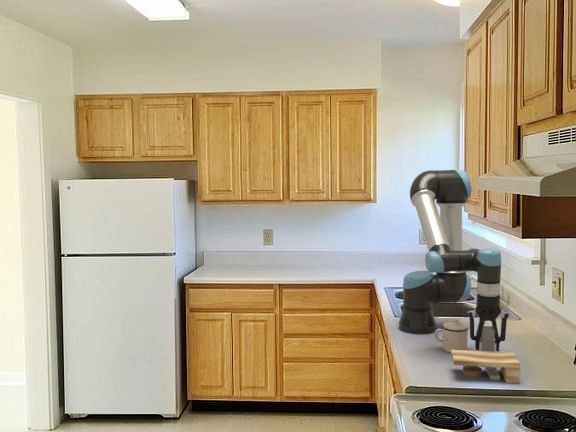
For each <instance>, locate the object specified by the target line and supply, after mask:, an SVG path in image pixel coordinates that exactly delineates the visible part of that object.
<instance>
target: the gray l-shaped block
mask: <svg viewBox="0 0 576 432" xmlns="http://www.w3.org/2000/svg"><path fill="white" fill-rule="evenodd" d="M480 340H481V342H482V351H494V341H495V329H493V327H492V325H484V326H483V329H482V334H481V338H480ZM484 368H485V371H486V373H487V376H488V377H489V380H492V381H493V380H495V381H501V375H500V373H499V371H498V369H497V367H485V366H484Z"/></svg>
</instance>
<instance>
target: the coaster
mask: <svg viewBox="0 0 576 432" xmlns="http://www.w3.org/2000/svg"><path fill="white" fill-rule="evenodd" d="M462 374H463V375H464V376H465V375H466V376H465V377H469V378H473V379H474V378H476V379H477V378H481V376H482V375H483V369H482V367H481V366H463V367H462Z"/></svg>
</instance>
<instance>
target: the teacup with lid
mask: <svg viewBox="0 0 576 432" xmlns="http://www.w3.org/2000/svg"><path fill="white" fill-rule="evenodd" d="M468 330H469V327H468V325H467V324H466V323H464V322H461V321H460V320H459V319H458V318H455V317H454V318H453V319H452V320H450V321H448V322H444V323H443V324H442V328H436V331H435V332H433V333H434V334H433V335H434V338H435V340H436V341H437V342H439V343H442V350H443V351H445V352H448V353H451V350H468V336H469V335H468V332H469V331H468ZM438 332H442V339H440V338H439V337H438V335H437V333H438Z"/></svg>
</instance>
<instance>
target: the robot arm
mask: <svg viewBox="0 0 576 432" xmlns="http://www.w3.org/2000/svg"><path fill="white" fill-rule="evenodd" d="M472 189H473V188H472V181H471V179H470V176H469V174H468V173H467V171H465V170H462V169H443V170H441V169H440V170H437V169H436V170H433V169H432V170H426V171H425V170H424V171H423V172H421V173H419V174H418V175H417V176H416V177H415V178H414V179H413V181H412V183H411V185H410V188H409V199H410V202H411V204H412V205H413V206H414V207H415V209H416V212H417V216H418V220H419V223H420V226H421V230H422V232H423V237H424V240H425V242H426V245H427V250H428V251H427V252H426V253H425V257H424V262H425V268H426V270H416V271H412V272H408V273H407V274H405V275H404V277H403V284H402V290H403V291H402V292H403V294H402V296H403V298H402V300H403V301H402V306H403V307H402V308H403V309H402V312H401V315H400V318H399V320H398V329H399V330H400V331H402V332H405V333H409V334H412V335H413V334H415V335H427V334H431V333H435V331H436V330H437V322H436V318H435V315H434V312H433V304H447V303H449V304H450V303H451V304H452V303H453V304H458V303H463V302H465V301H467V300H468V299H469V297H470V295H471V292H472V281H471V277H470V276H471V275H469V274H468V273H467V272H475V273H477V274H476V275H477V277H476V278H477V279H476V280H477V281H476V282H477V283H476V284H477V285H476V292H477V294H476V307H475V308H474V310H467V314H468V317H469V337H470V340H472V341H475V343H474V344H475V346H474V348H475V351H482V342H481V340H480V338H481V334H482V329H483V326H485V323H486V322H488V321H489V322H491V326H492V327H493V329H495V340H494V351H495V352H500V343H501V342H505V341H506V337H507V336H506V334H507V333H506V332H507V321H508V318H509V313H508V312H507V311H503V310H502V309H501V306H500V304H501V296H500V294H501V270H502V268H501V267H502V253H501V251H500V250H499V249H496V248H495V249H494V248H489V247H487V248H485V247H484V248H480V249H479V248H475V247H474V248H473V247H472V248H468V249H466V250H463V207H464V206H466V204H467V200H468V199H470V197H471V196H472V192H473V191H472ZM437 206H438V207H439V209H440V210H439V211H438V208H437ZM433 273H436V274H433ZM476 315H477V316H478V317H479V321H478V325H477V330H476V332H475V317H476ZM499 316H500V317H501V323H500V334H499V330H498V325H497V318H498V317H499ZM475 333H476V334H475ZM499 335H500V336H499Z"/></svg>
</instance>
